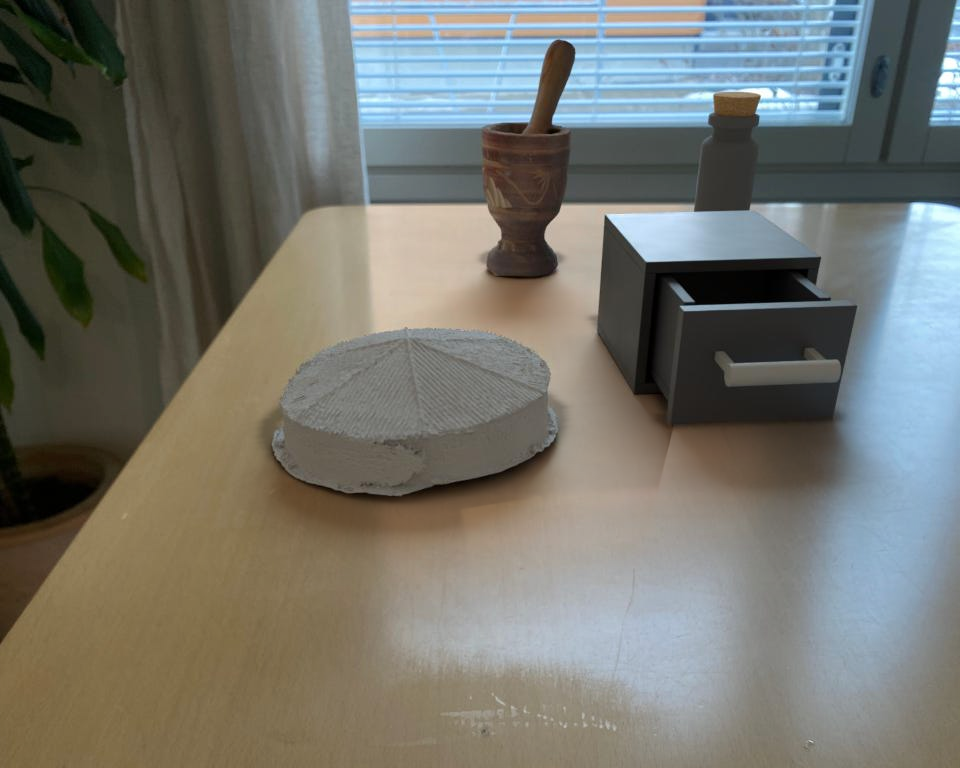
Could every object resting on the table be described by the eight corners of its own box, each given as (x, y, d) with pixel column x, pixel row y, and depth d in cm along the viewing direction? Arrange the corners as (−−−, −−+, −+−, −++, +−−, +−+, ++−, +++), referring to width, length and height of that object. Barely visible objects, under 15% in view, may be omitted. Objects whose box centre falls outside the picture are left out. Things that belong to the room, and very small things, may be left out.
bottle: (726, 241, 110) (747, 89, 101) (753, 253, 106) (778, 96, 97) (679, 245, 109) (697, 91, 100) (705, 258, 104) (726, 99, 95)
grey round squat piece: (594, 488, 61) (601, 383, 57) (270, 514, 58) (254, 405, 54) (529, 374, 77) (531, 285, 73) (272, 390, 74) (260, 299, 70)
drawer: (857, 445, 64) (886, 326, 59) (686, 453, 63) (702, 333, 58) (767, 352, 78) (785, 250, 73) (627, 357, 77) (636, 255, 73)
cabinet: (796, 387, 74) (821, 256, 69) (633, 394, 73) (646, 262, 68) (737, 326, 86) (755, 210, 80) (596, 331, 85) (604, 214, 80)
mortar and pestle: (497, 248, 108) (499, 36, 96) (574, 253, 106) (585, 38, 95) (473, 277, 99) (471, 47, 87) (557, 282, 97) (567, 48, 85)
